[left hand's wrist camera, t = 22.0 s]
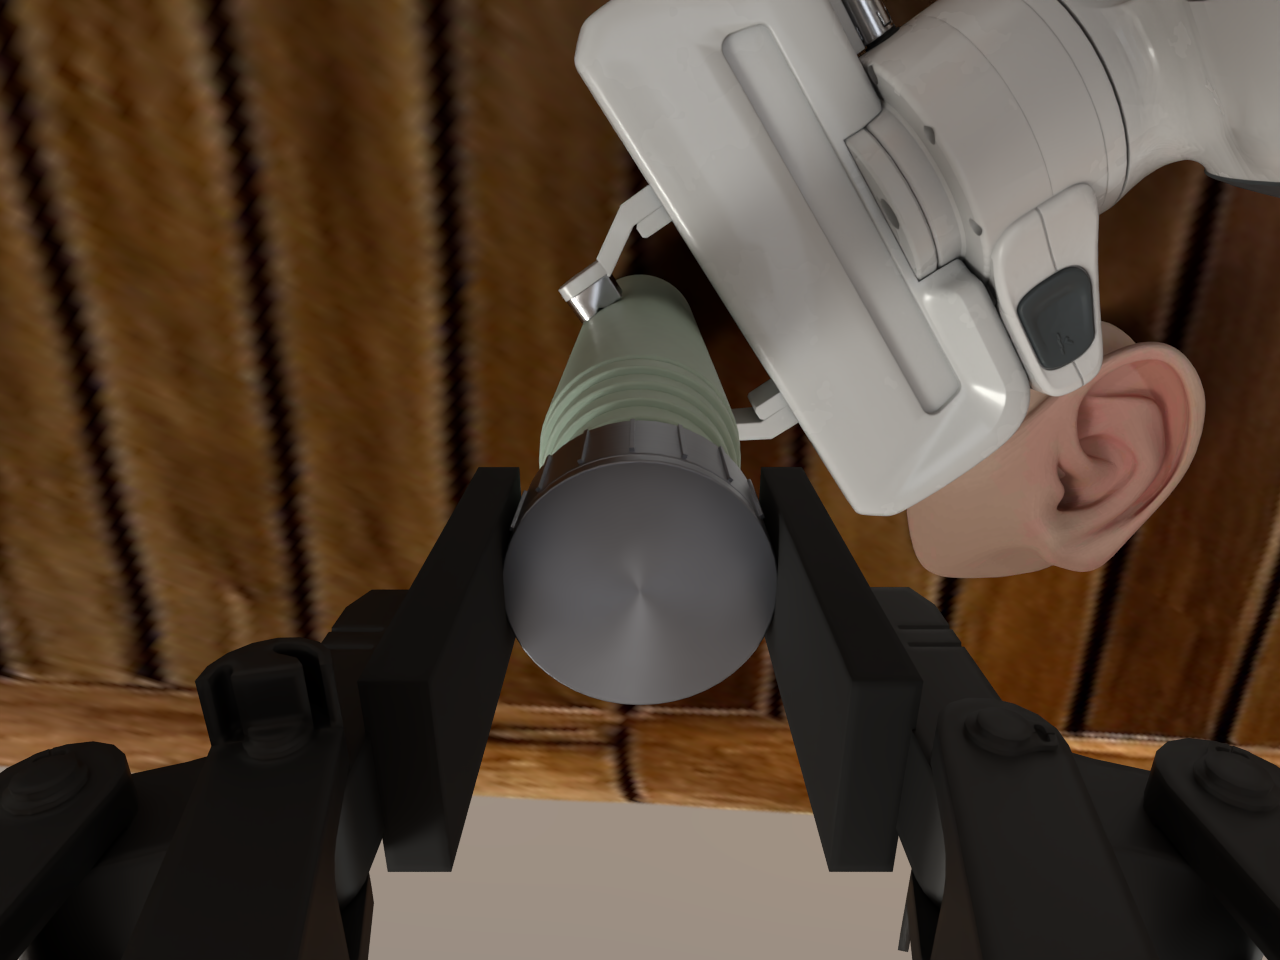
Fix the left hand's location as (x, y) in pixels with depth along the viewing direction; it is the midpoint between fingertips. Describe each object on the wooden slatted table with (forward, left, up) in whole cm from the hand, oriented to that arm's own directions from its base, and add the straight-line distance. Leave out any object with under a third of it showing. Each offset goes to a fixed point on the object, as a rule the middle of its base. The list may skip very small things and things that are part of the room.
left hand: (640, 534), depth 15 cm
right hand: (0, -1, -15) cm, 15 cm away
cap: (0, 0, +2) cm, 2 cm away
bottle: (0, 0, -22) cm, 22 cm away
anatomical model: (+7, +19, -22) cm, 29 cm away
